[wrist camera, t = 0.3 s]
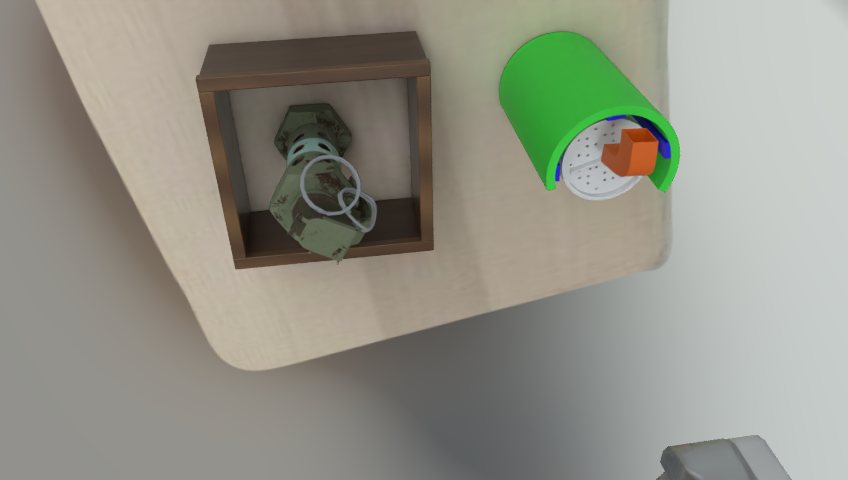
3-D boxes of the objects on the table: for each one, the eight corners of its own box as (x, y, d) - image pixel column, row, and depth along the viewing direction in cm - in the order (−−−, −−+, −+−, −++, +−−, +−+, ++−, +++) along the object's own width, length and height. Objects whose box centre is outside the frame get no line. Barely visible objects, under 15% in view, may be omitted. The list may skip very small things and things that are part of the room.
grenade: (341, 182, 62) (351, 289, 50) (267, 152, 59) (258, 256, 47) (381, 110, 59) (401, 205, 46) (304, 75, 56) (305, 165, 44)
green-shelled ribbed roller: (503, 134, 61) (566, 255, 47) (493, 43, 57) (560, 146, 42) (607, 113, 62) (702, 227, 47) (606, 20, 57) (712, 114, 42)
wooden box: (207, 43, 54) (195, 78, 48) (417, 29, 55) (430, 62, 50) (241, 221, 63) (235, 269, 57) (422, 205, 64) (433, 250, 58)
